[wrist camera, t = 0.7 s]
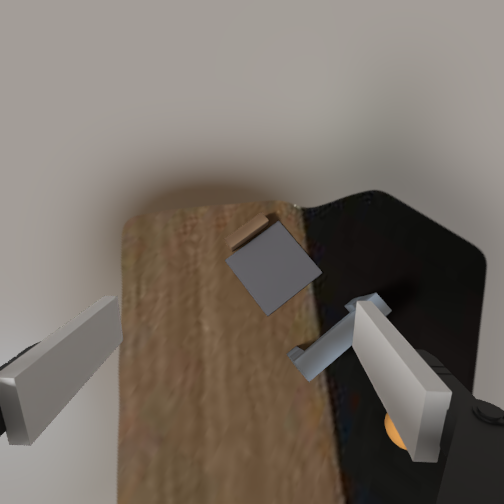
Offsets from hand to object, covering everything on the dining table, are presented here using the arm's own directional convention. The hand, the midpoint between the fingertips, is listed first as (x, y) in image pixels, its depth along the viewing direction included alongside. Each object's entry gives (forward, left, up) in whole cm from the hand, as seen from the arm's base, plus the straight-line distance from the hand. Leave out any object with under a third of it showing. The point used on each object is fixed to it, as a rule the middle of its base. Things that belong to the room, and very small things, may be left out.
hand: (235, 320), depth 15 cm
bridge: (-9, -9, -32) cm, 34 cm away
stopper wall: (+12, -9, -32) cm, 35 cm away
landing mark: (+5, -9, -32) cm, 33 cm away
